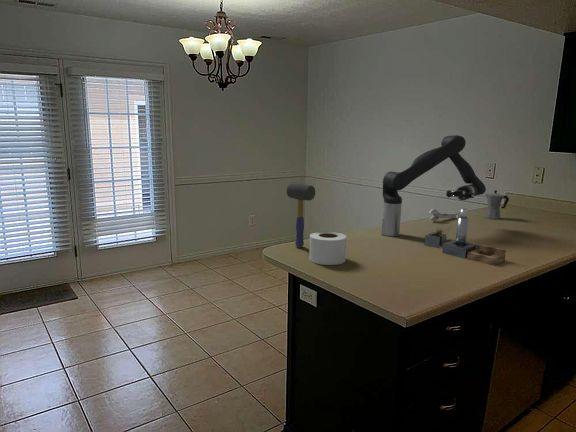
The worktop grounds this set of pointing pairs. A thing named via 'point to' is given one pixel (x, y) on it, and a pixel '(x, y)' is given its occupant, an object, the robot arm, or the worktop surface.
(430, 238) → the guide
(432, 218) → the wrench
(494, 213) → the coffeepot
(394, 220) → the robot arm
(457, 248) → the socket block
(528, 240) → the worktop surface
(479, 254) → the brown hollowed block
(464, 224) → the metal spray bottle
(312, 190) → the rubber mallet
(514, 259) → the worktop surface
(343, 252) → the white toilet paper roll
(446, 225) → the tan flat block
